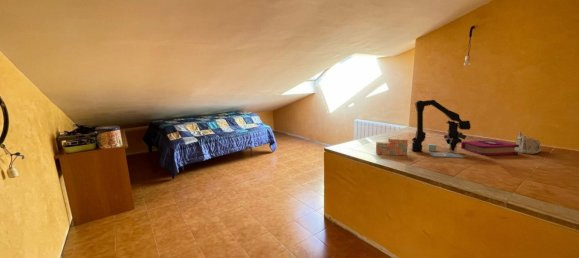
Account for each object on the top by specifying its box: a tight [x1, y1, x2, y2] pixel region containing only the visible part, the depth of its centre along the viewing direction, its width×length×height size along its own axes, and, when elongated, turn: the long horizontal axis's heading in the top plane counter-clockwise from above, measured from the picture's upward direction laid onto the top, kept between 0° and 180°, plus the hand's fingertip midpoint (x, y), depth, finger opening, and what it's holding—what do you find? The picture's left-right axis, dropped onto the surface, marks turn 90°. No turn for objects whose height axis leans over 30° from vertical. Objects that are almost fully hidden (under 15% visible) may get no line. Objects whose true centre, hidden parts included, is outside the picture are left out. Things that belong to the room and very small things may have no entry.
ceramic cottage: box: [514, 131, 542, 155], centre depth 183 cm, size 16×16×15 cm
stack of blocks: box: [375, 137, 409, 156], centre depth 186 cm, size 21×6×12 cm, turn 82°
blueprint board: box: [427, 151, 466, 159], centre depth 178 cm, size 20×12×1 cm, turn 74°
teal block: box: [426, 143, 437, 152], centre depth 195 cm, size 5×5×5 cm
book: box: [460, 139, 519, 157], centre depth 187 cm, size 21×28×8 cm
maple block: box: [446, 143, 458, 153], centre depth 185 cm, size 5×5×5 cm
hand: (451, 149), depth 186 cm, fingers closed on maple block, 5 cm apart
